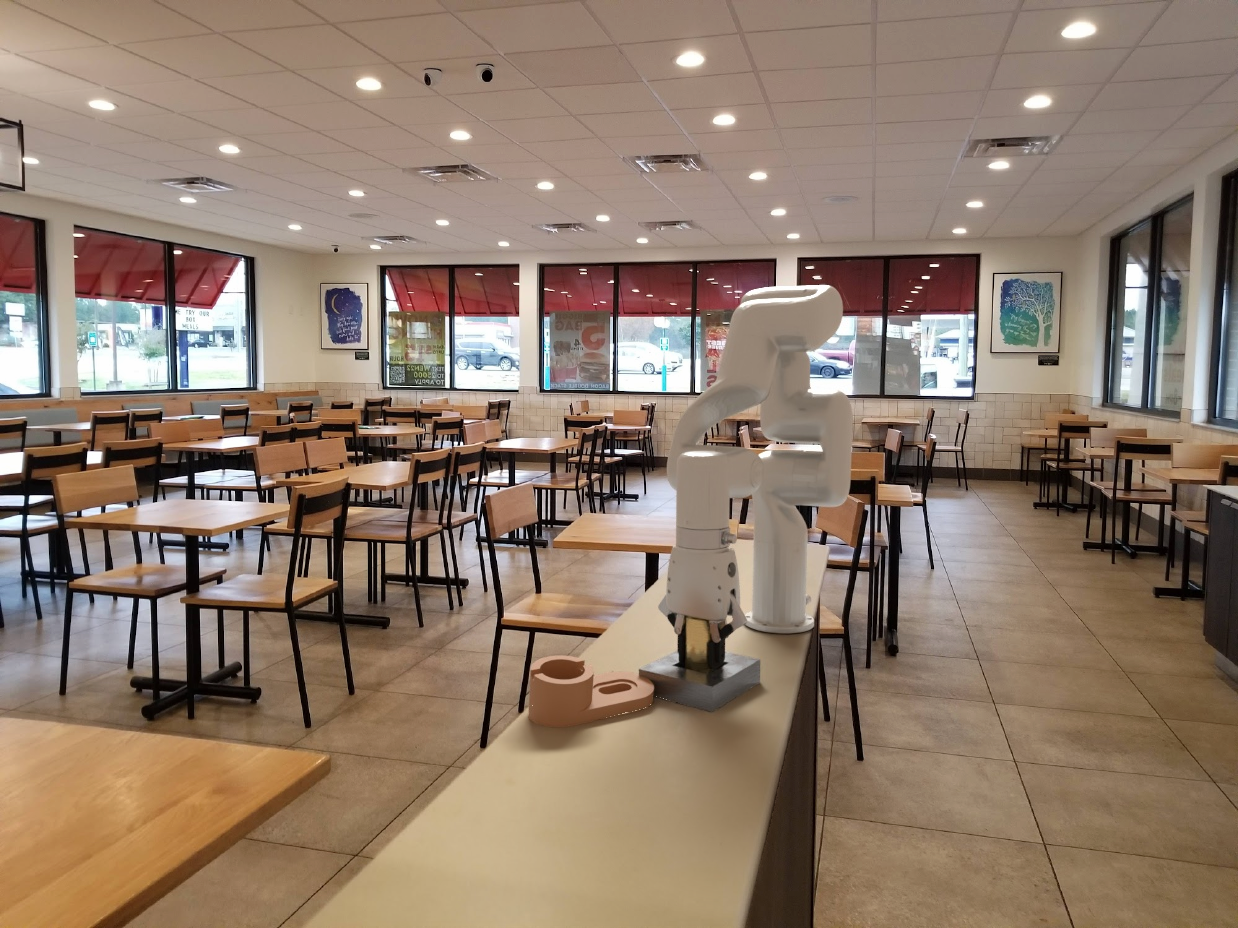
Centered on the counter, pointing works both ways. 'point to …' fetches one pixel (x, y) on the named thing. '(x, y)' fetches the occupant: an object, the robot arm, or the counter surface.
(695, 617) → the robot arm
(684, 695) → the plate
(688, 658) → the gold rounded cylinder
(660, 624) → the counter surface
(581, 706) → the bracket
